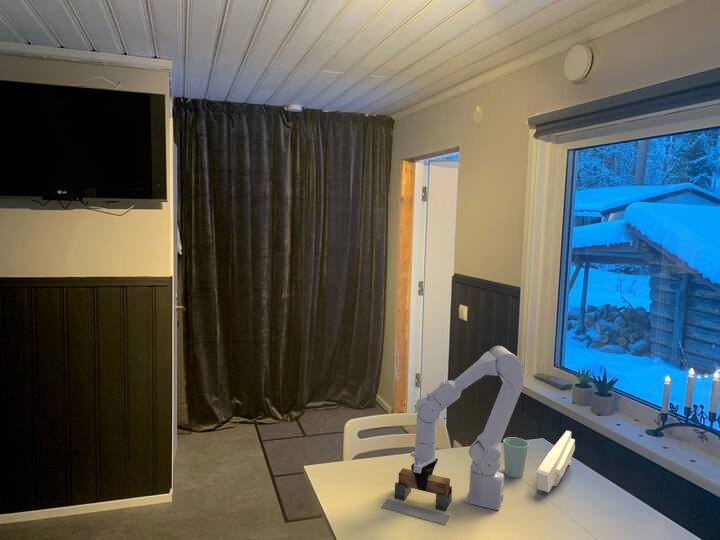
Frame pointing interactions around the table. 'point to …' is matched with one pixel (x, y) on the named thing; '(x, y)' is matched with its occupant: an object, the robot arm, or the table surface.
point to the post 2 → (443, 500)
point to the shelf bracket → (555, 463)
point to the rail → (433, 482)
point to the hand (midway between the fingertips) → (423, 486)
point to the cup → (515, 456)
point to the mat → (416, 511)
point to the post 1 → (401, 491)
